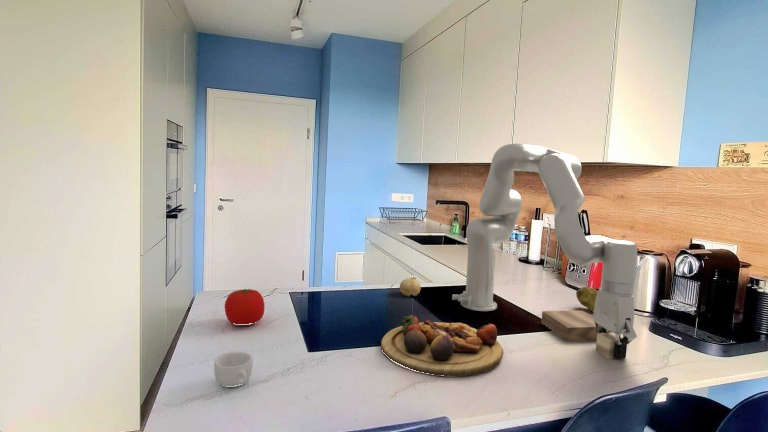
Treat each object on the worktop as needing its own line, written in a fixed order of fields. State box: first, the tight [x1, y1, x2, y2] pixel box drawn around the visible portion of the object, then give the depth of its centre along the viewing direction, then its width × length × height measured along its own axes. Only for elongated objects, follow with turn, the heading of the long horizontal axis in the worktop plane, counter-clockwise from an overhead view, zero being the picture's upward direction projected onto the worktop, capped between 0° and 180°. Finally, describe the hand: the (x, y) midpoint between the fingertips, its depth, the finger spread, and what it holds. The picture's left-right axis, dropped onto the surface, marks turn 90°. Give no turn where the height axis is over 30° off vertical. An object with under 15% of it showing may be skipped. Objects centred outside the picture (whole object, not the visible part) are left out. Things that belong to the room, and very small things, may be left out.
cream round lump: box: [399, 276, 422, 297], centre depth 160 cm, size 8×8×7 cm
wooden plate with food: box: [380, 314, 504, 377], centre depth 112 cm, size 32×32×8 cm
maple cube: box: [595, 333, 623, 359], centre depth 112 cm, size 5×5×5 cm
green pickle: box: [575, 286, 598, 313], centre depth 148 cm, size 8×13×8 cm, turn 33°
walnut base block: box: [541, 310, 612, 342], centre depth 128 cm, size 14×14×4 cm
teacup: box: [213, 351, 253, 386], centre depth 90 cm, size 10×8×5 cm
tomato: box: [224, 288, 265, 324], centre depth 124 cm, size 11×12×10 cm
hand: (610, 351), depth 113 cm, fingers open, 6 cm apart
